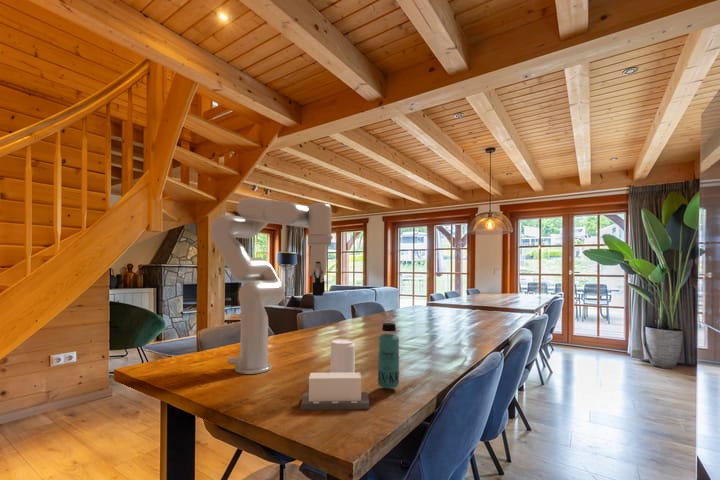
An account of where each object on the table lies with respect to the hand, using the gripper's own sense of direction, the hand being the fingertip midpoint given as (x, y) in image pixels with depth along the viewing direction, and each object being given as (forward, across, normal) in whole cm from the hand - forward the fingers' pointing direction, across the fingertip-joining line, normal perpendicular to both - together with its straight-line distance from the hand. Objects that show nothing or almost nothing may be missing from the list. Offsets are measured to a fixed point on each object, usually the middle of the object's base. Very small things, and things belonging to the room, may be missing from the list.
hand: (318, 294), depth 114 cm
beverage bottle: (+28, +6, +22) cm, 36 cm away
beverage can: (+28, -6, +8) cm, 30 cm away
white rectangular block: (+27, +16, +6) cm, 32 cm away
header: (+28, +16, +6) cm, 33 cm away
